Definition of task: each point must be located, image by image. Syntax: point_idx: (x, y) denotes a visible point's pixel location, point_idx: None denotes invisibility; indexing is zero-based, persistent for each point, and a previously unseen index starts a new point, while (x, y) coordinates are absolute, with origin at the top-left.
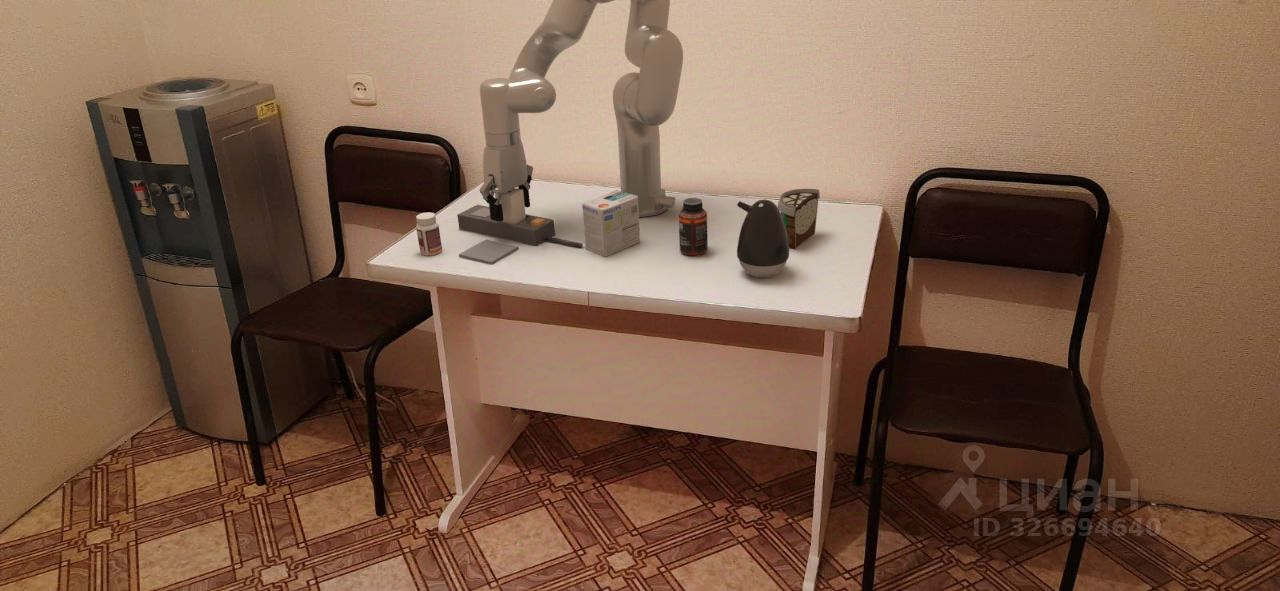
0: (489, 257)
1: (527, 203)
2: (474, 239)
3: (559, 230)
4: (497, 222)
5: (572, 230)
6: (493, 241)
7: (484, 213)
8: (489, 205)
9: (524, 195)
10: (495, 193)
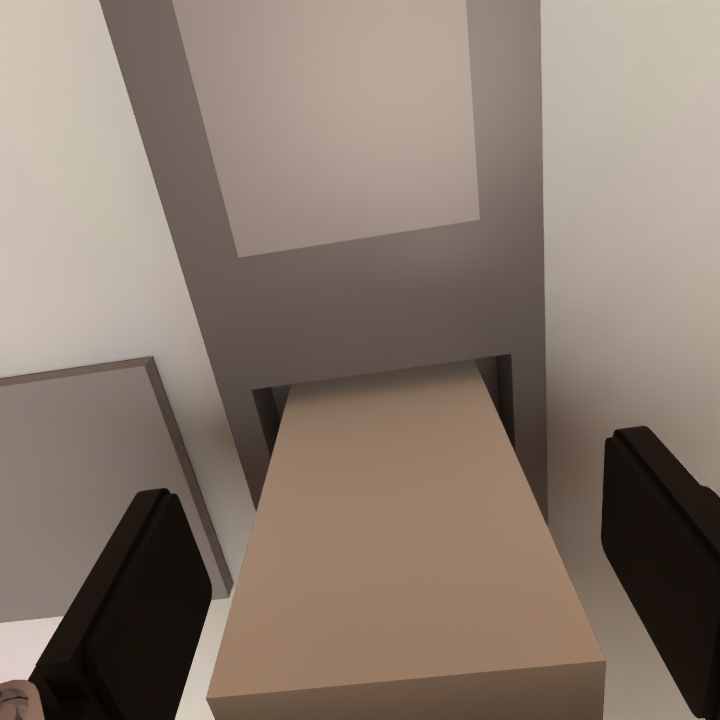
0: (5, 580)
1: (620, 580)
2: (110, 238)
3: (591, 581)
4: (244, 444)
5: (625, 630)
6: (163, 435)
7: (310, 144)
8: (63, 627)
9: (670, 639)
10: (213, 702)
